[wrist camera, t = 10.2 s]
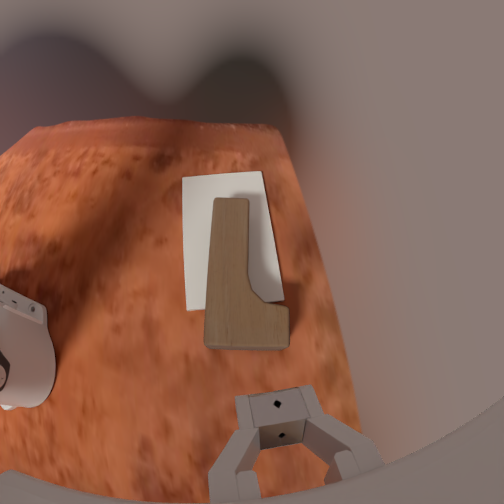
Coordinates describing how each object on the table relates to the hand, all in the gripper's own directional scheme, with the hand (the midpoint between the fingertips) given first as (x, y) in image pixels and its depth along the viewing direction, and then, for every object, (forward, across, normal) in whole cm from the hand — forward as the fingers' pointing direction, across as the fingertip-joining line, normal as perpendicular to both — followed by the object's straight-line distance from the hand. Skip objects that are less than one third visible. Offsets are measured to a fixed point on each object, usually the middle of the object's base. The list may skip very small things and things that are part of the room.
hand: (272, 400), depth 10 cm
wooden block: (+17, 0, +12) cm, 21 cm away
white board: (+30, 0, +3) cm, 30 cm away
